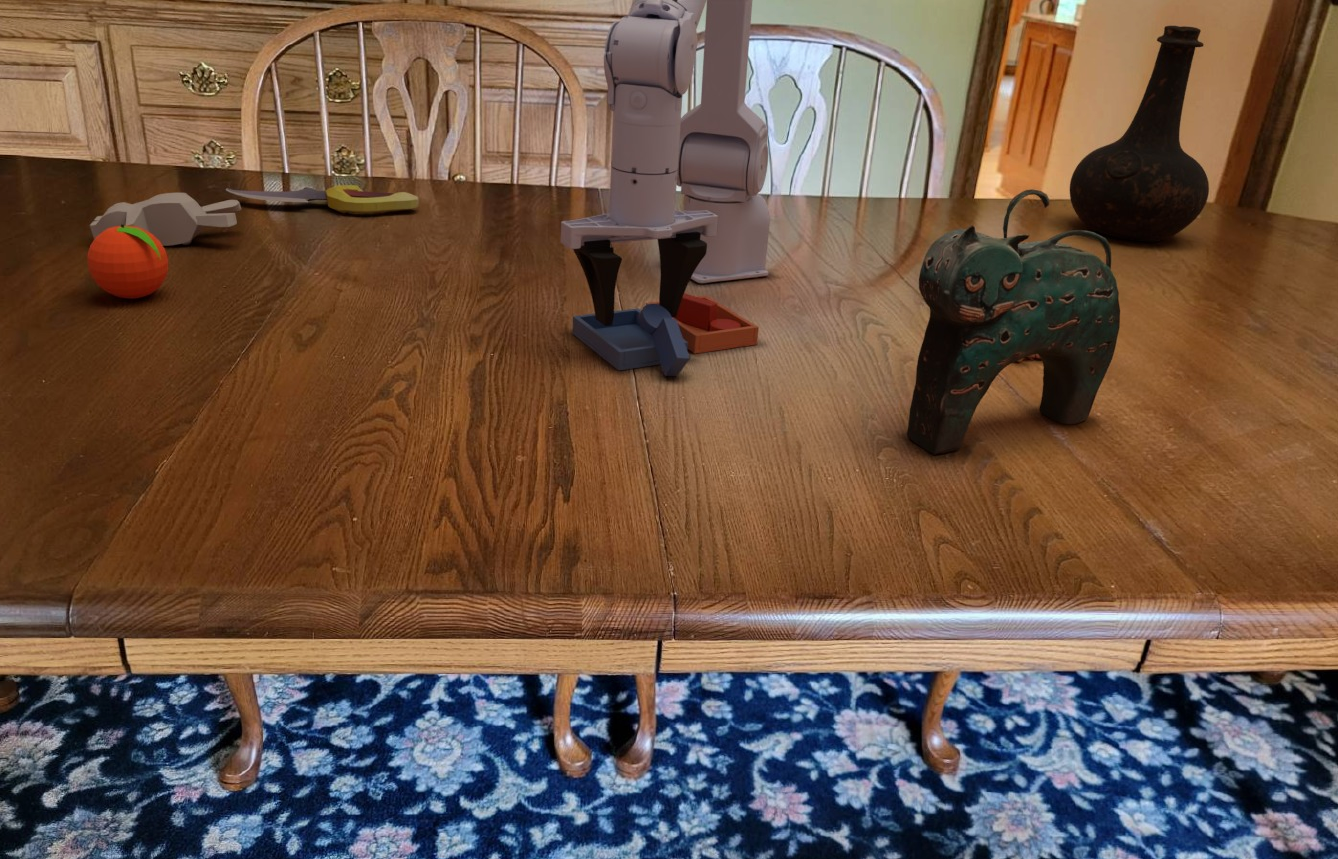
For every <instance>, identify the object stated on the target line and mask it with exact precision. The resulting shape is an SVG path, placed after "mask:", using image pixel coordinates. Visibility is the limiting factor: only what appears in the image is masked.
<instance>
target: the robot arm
mask: <svg viewBox="0 0 1338 859" xmlns="http://www.w3.org/2000/svg"><path fill="white" fill-rule="evenodd" d="M705 6H706V10H705V26H704V27H705V28H704V44H703V61H702V76H701V94H700V95H701V96H700V103H699V104H698V105H696V106H695V107H693V108H691V109H690V110H688V111H687V112H686V113H685V114H683V115H682V108H683V95H685V94H686V93H687V91H688V89H689V88H690V85H691V82H692V78H693V73H694V67H695V59H696V58H695V57H696V52H697V48H698V42H699V39H698V38H699V37H698V32H697V31H698V30H697V29H698V26H699V23H700V20H701V18H702V14H703V12H704V9H705ZM752 11H753V0H633V1H632V4H631V5H630V8H629V11H628V14H627V15H624V16H623V17H621V19H619V21H614V22H613V23H611V25H610V27H609V29H608V31H607V34H606V39H605V44H604V53H603V71H604V76H605V80H606V87H607V105H608V110H609V111H610V110H611V112H612V129H611V130H612V131H611V155H610V158H611V159H610V181H609V182H610V183H609V208H608V212H607V213H602V214H597V215H592V216H588V217H587V216H586V217H583V218H579V219H572V220H562V221H561V222H560V244H562V245H563V246H564V247H566V248H567V249H568V250H573V253H574V254H575V256H576V258H577V260H578V262H579V264H580V267H581V269H582V272H583V274H584V276H585V279H586V281H587V284H588V289H589V292H590V296H591V300H592V306H593V309H594V310H593V311H594V314H595V317H596V320H598V321H599V322H600V323H602V324H603V325H604V326H609V325H612V323H613V318H614V311H615V297H616V296H615V294H616V286H617V281H618V276H619V275H618V274H619V271H620V267H621V264H622V261H623V258H622V257H621V256H620V255H618V254H617V253H615V252H614V247H611V245H612V244H618V243H629V242H641V241H652V240H657V246H658V254H659V266H660V267H659V268H660V280H659V296H658V301H659V305H660V306H662V307H664V308H665V309H666V310H667V311H668V312H669V313H670V315H671V317H676V316H677V313H678V310H679V307H680V303H681V300H682V298H683V295H684V293H686V289H687V287H688V285H689V282H690V281H691V280H693V281H694V282H696V283H698V284H706V283H716V282H725V281H732V280H733V281H734V280H743V279H750V278H759V277H767V276H769V271H768V270H766V262H767V253H768V245H769V244H768V243H769V236H770V235H769V234H770V226H771V225H770V224H771V215H770V210H769V206H768V203H767V201H766V200H765V198H764V197H763V196H762V195H761V194H759V193H760V192H761V191H762V190H763V188H764V186H765V181H766V177H767V172H768V163H769V146H768V135H769V134H768V133H769V131H768V130H769V129H768V127H767V124H766V122H765V121H764V120H763V119H762V118H761V117H760V116H759V115H757V113H755V112H754V111H753V110H752V109H751V108H750V107H749V106H748V105H747V104H746V100H745V99H746V87H747V77H748V76H747V75H748V63H749V62H748V61H749V51H750V50H749V49H750V37H751V24H752ZM677 187H680V194H681V195H684V205H683V206H684V207H683V210H676V201H677V200H676V199H677Z"/></svg>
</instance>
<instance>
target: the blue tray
mask: <svg viewBox="0 0 1338 859" xmlns="http://www.w3.org/2000/svg"><path fill="white" fill-rule="evenodd" d="M641 310H642V309H640V308H637V307H636V308H629V309H621V310H614V318H613V323H612V325H609V326H604V325H603V324H602V323H600V322H599V321H598V320H596V317H595V313H589V314H580V315H573V316H572V335H573V336H575V337H576V338H577V339H578V340H580V341H581V342H582V343H583V344H585V345H586V346H587V347H588V348H590V349H591V350H592V351H593V352H595V354H597V355H598V356H600V357H601V358H602V359H603V360H604V361H606V362H607V363H608V364H609V365H611V366H612V367H613V368H614V369H615V370H617V371H618V372H620V371H625V370H626V371H627V370H632V369H638V368H647V367H652V366H653V367H654V366H658V365H661V363H660V360H659V357H658V354H657V351H656V348H655V345H654V342H653V339H652V335H651V334H649V333H647V332H646V331H645V330H644V329H643V328H642V327H641V326H640V324H639V321H638V316H639V314H640V312H641ZM683 340H684V339H683ZM684 343H685V346H686V349H687V350H688V342H687V341H685V340H684Z"/></svg>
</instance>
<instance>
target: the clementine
mask: <svg viewBox="0 0 1338 859" xmlns="http://www.w3.org/2000/svg"><path fill="white" fill-rule="evenodd" d="M87 251H88V252H87V268H88V270H89V273H90V277H91V278H92V279H93V281H94V282H95V283H96V284H97V285H98V286H99V287H100V288H101V289H102V290H104V291H105V292H106V293H108V294H110V295H112V296H115V297H117V298H121V299H129V300H133V299H134V300H135V299H140V298H143V297H147V296H150V295H151V294H153V293H154V292H156V291H157V290H158V289H159V288H160V287H161V286H162V284H163V283H164V282H165V280H166V278H167V275H168V272H169V258H168V254H167V251H166V249H165V246H163V245H162V244H161V242H160V241H159V240H158V239H157V238H156V237H155V236H154V235H153V234H151V233H149V232H147V231H146V230H144V229H142V228H139V227H136V226H124V225H122V224H121V226H116V227H111V228H108V229H106V230H105V231H103V232H102V233H101V234H99V235H98V236H97V237H96V238H95V239H94V238H93V241H92V242H91V244H90V245H89V248H88V250H87Z"/></svg>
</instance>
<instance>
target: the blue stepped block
mask: <svg viewBox="0 0 1338 859" xmlns="http://www.w3.org/2000/svg"><path fill="white" fill-rule="evenodd" d="M640 310H641V312H640V314H639V316H638V321H639V324H640V326H641V327H642V328H643V329H644V330H645V331H646V332H647V333H649V334H651V335H652V339H653V342H654V345H655V348H656V351H657V354H658V357H659V360H660V363H661V364H660V365H661V368H662V372H663V374H664V375H663V376H665V377H678V376H679V375H680V373H682V371H683V369H684V368H685V367H686V365H687V364H688V362H689V361H690V359H691V357H690V354H689V350H688V349H686V346H685V343H684V340H683V337H682V334H681V332H680V329H679V326H678V323H677V320H676V319H672V317H671V315H670V313H669V312H668V311H667V310H666V309H665V308H664V307H662V306H660V305H658V304H647V305H646V304H645V305H644V306H643V307H642V309H640Z"/></svg>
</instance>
